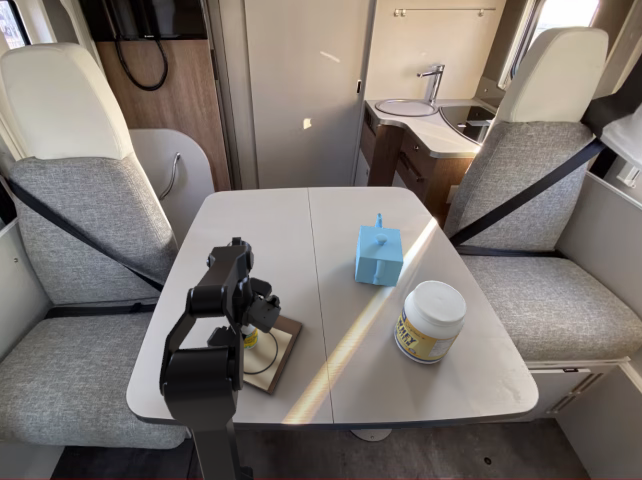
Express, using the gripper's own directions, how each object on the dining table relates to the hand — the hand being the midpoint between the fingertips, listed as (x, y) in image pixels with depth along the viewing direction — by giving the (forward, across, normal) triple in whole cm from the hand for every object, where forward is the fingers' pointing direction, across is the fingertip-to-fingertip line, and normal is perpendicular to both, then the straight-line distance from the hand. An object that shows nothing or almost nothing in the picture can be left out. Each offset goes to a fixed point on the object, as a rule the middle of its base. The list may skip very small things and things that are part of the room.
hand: (246, 334), depth 73 cm
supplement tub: (+4, +16, -38) cm, 42 cm away
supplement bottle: (+3, 0, 0) cm, 3 cm away
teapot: (+4, +37, -24) cm, 44 cm away
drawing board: (+4, +1, -2) cm, 5 cm away
